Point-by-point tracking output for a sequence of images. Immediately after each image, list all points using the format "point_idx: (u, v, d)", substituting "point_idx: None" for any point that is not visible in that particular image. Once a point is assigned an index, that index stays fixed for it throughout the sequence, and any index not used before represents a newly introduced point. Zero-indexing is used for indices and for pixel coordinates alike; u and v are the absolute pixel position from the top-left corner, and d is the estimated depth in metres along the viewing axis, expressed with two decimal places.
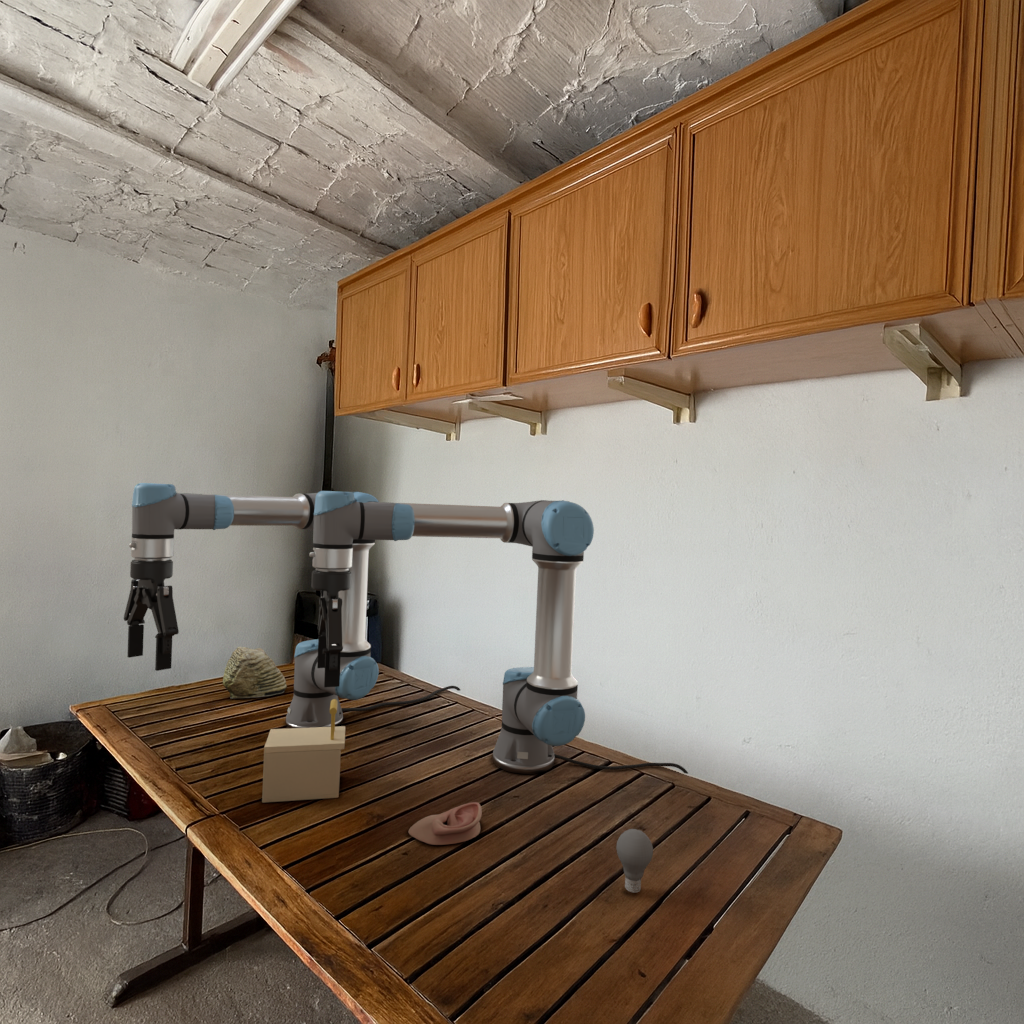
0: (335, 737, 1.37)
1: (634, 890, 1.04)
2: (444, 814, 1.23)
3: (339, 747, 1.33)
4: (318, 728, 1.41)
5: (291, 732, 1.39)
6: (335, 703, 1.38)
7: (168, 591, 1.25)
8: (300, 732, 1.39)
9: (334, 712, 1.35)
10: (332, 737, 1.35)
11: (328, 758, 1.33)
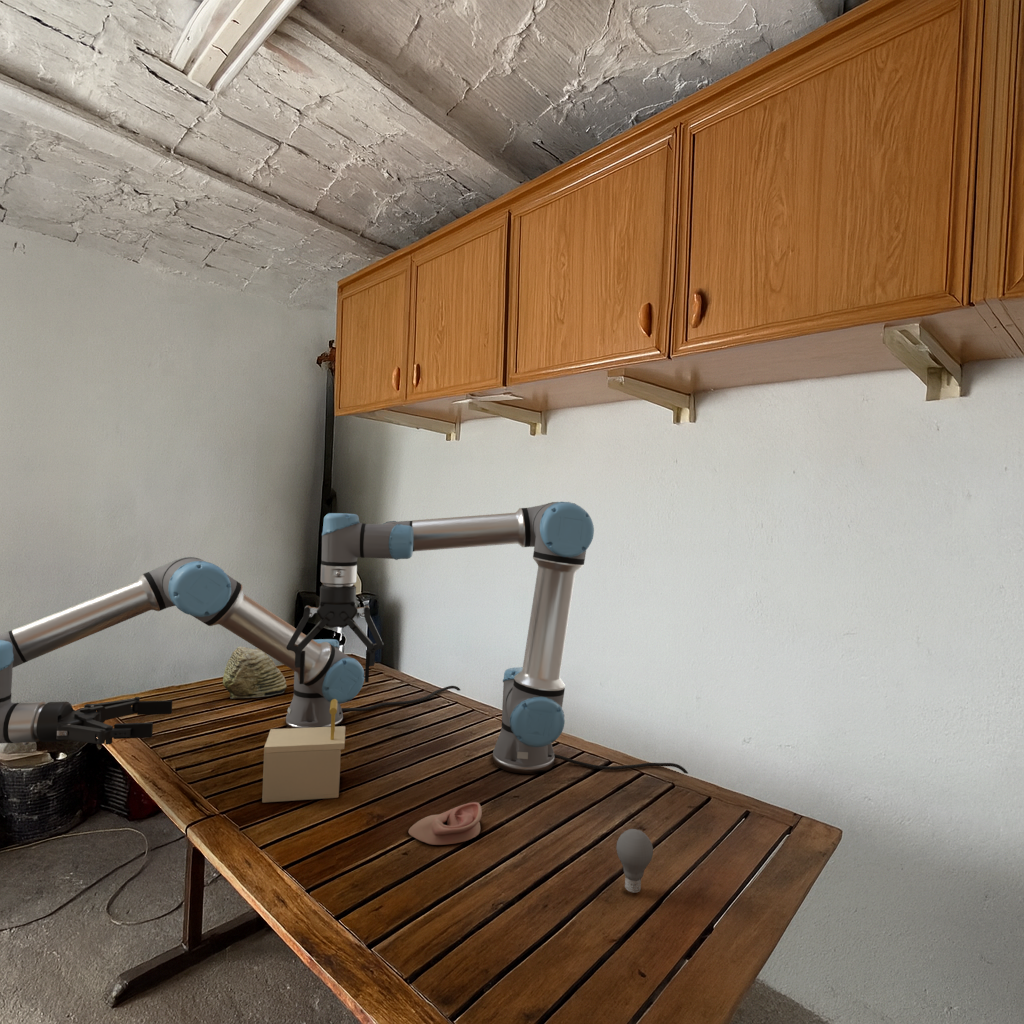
0: (335, 737, 1.37)
1: (634, 890, 1.04)
2: (444, 814, 1.23)
3: (339, 747, 1.33)
4: (318, 728, 1.41)
5: (291, 732, 1.39)
6: (335, 703, 1.38)
7: (61, 730, 1.19)
8: (300, 732, 1.39)
9: (334, 712, 1.35)
10: (332, 737, 1.35)
11: (328, 758, 1.33)
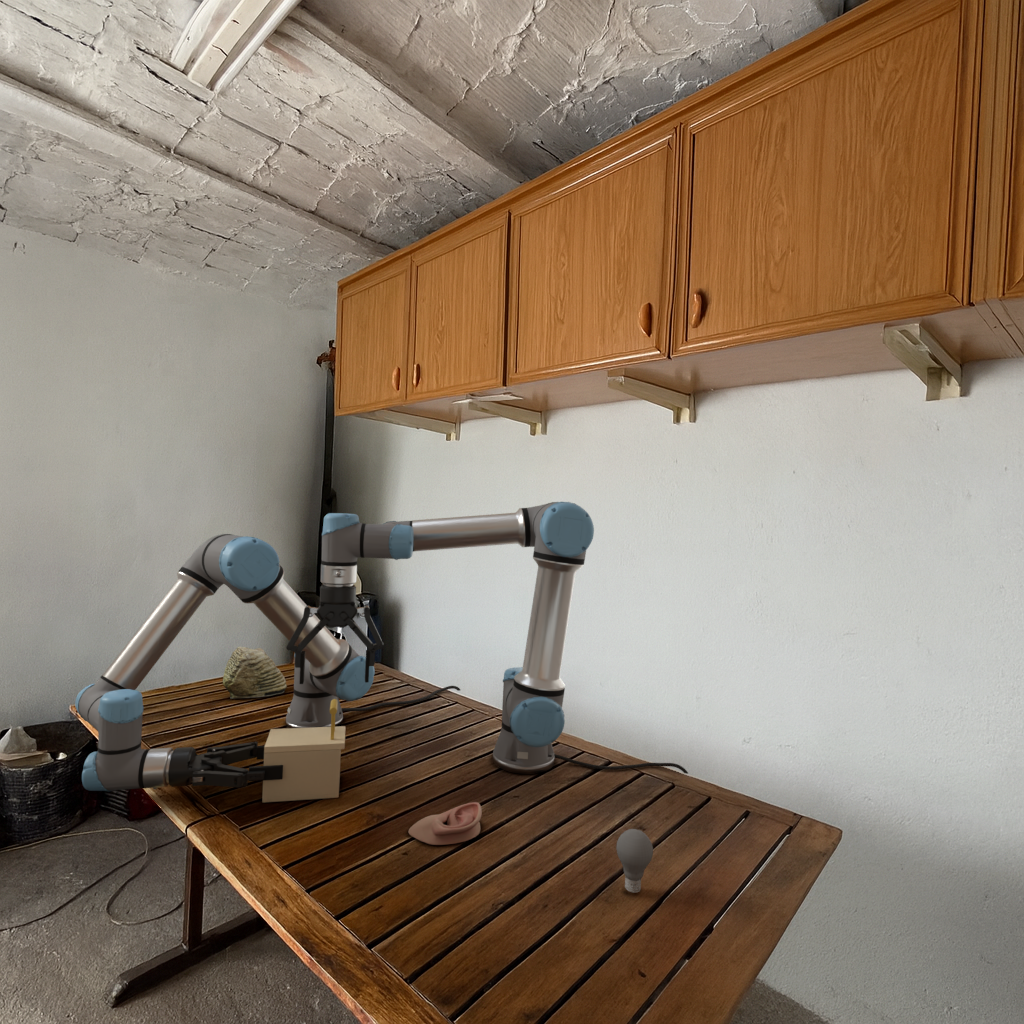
0: (335, 737, 1.37)
1: (634, 890, 1.04)
2: (444, 814, 1.23)
3: (339, 747, 1.34)
4: (318, 728, 1.41)
5: (291, 731, 1.39)
6: (335, 703, 1.38)
7: (198, 777, 1.25)
8: (300, 732, 1.39)
9: (334, 712, 1.35)
10: (332, 737, 1.35)
11: (328, 758, 1.33)
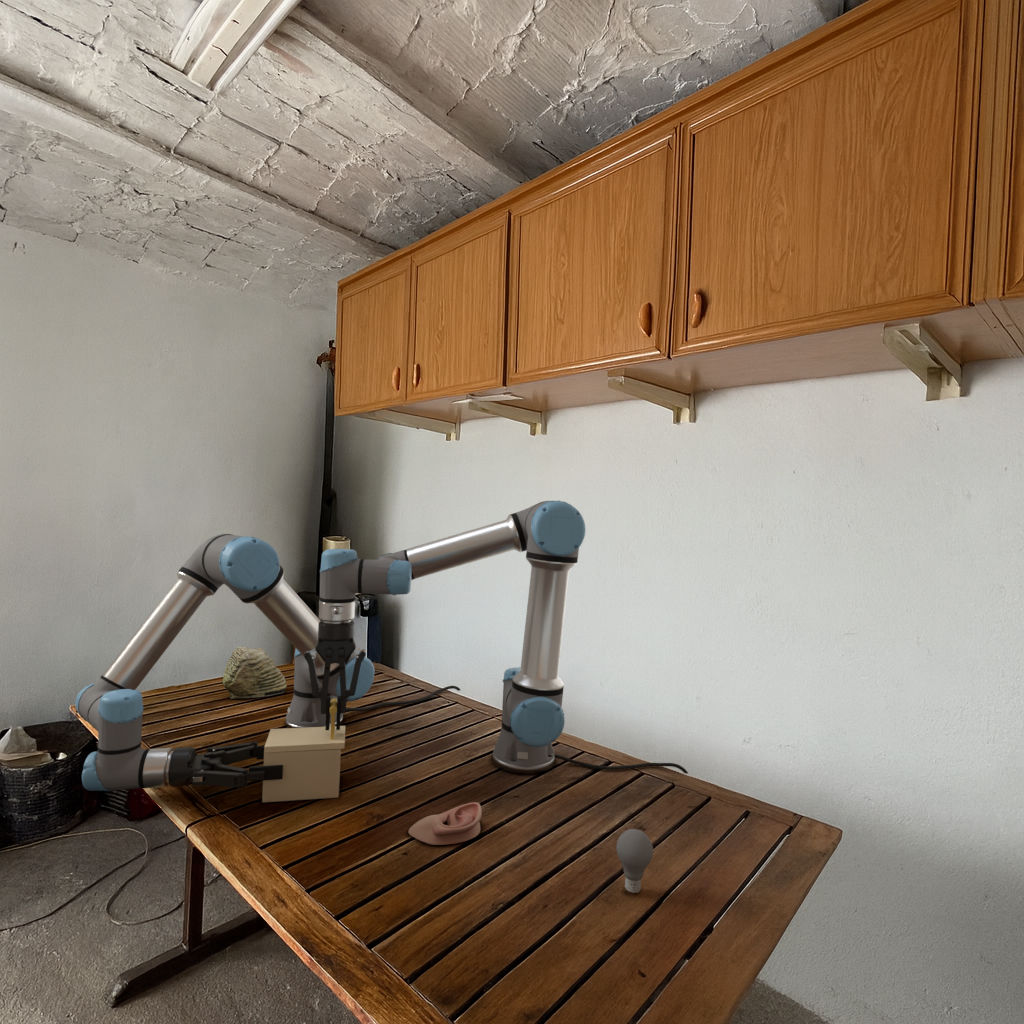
0: (335, 737, 1.37)
1: (634, 890, 1.04)
2: (444, 814, 1.23)
3: (339, 746, 1.34)
4: (318, 728, 1.41)
5: (291, 731, 1.39)
6: (335, 703, 1.38)
7: (198, 777, 1.25)
8: (300, 732, 1.39)
9: (334, 712, 1.35)
10: (332, 737, 1.35)
11: (328, 758, 1.33)
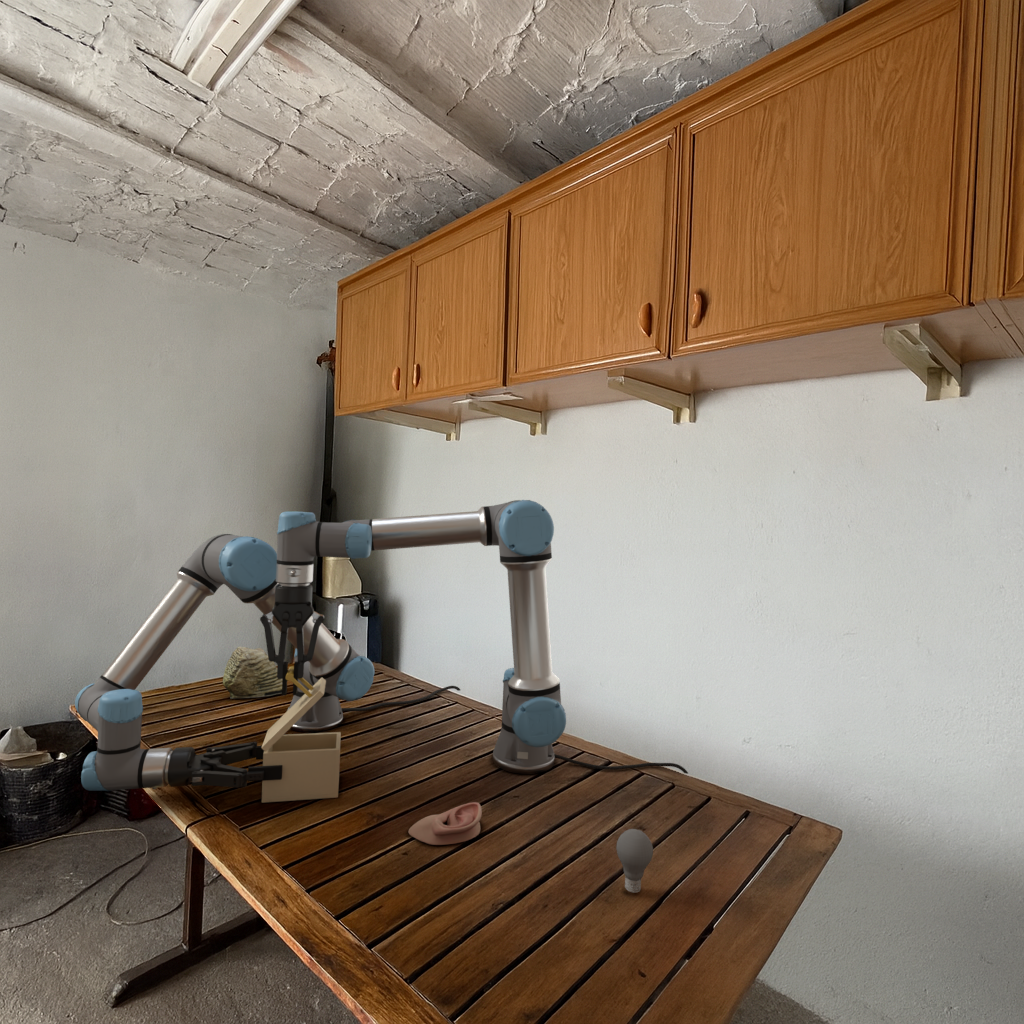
0: (313, 692, 1.35)
1: (634, 890, 1.04)
2: (444, 814, 1.23)
3: (318, 697, 1.32)
4: (302, 697, 1.40)
5: (282, 718, 1.38)
6: (289, 669, 1.36)
7: (197, 777, 1.25)
8: (288, 712, 1.38)
9: (291, 677, 1.33)
10: (309, 694, 1.34)
11: (327, 758, 1.33)
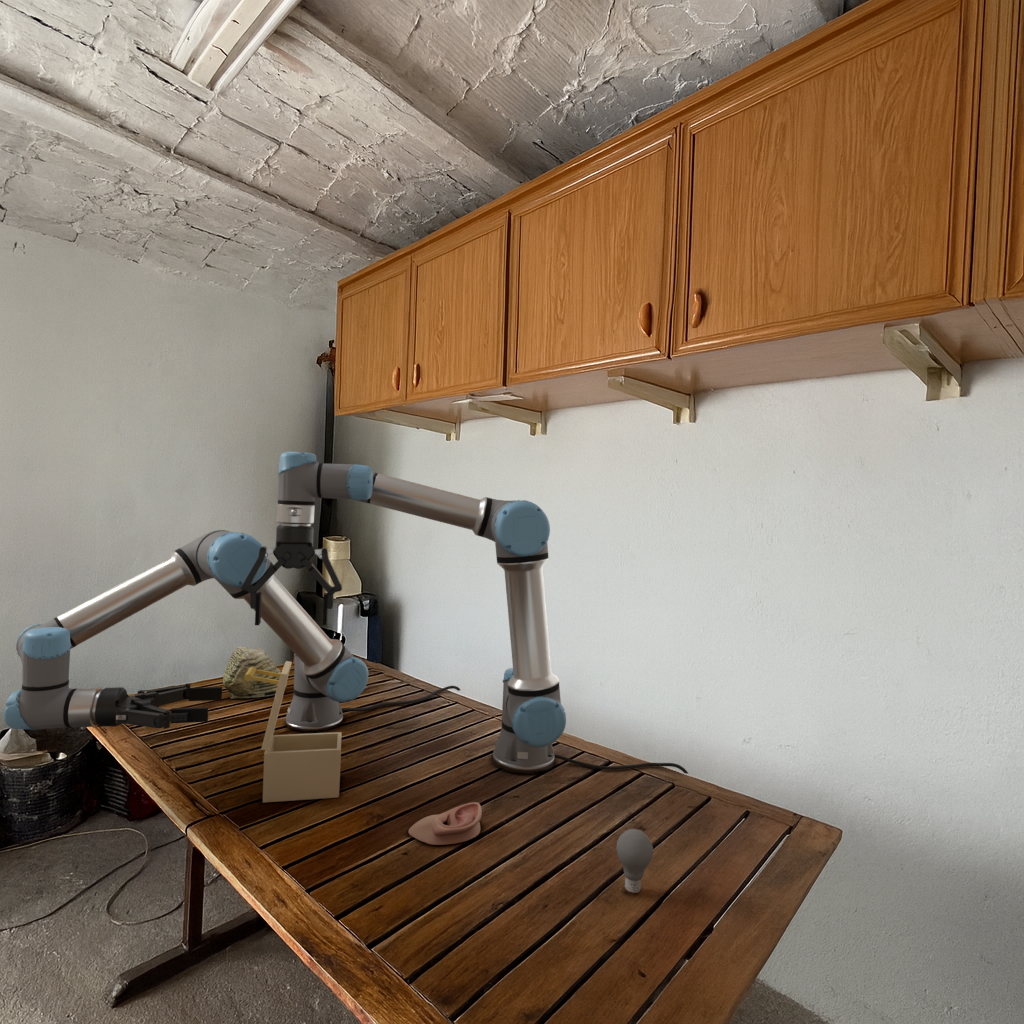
0: None
1: (634, 890, 1.04)
2: (444, 814, 1.23)
3: (283, 679, 1.30)
4: None
5: None
6: (247, 671, 1.34)
7: (120, 715, 1.22)
8: None
9: (249, 676, 1.31)
10: (276, 682, 1.32)
11: (328, 758, 1.33)
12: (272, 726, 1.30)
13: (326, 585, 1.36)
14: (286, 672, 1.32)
